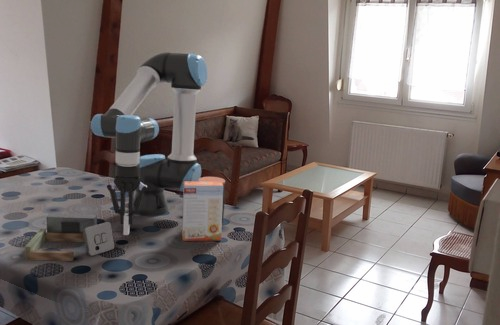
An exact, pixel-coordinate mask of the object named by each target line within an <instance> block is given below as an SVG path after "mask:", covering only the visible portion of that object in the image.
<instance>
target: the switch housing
mask: <svg viewBox="0 0 500 325" xmlns="http://www.w3.org/2000/svg"><path fill="white" fill-rule="evenodd" d="M97 217H98V214H86V213H85V214H84V213H81V214H80V213H63V212H62V213H59V212H58V213H57V212H50V213H49V214H48V215H46V232H48V233H77V234H79V233H81V234H83V230H84V229H86V228H87V227H90V226H94V225H98V218H97Z"/></svg>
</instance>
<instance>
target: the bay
mask: <svg viewBox="0 0 500 325" xmlns="http://www.w3.org/2000/svg"><path fill="white" fill-rule="evenodd" d="M45 242H63V243H64V242H66V243H67V242H68V243H85V241H84V236H83V234H81V233H79V234H77V233H48V232H47V228H41V229H40V230H39V231H38V232H37V233H35V235H34V236H33V237H31V239H30V240H29V241H28V243H27V244H26V245H25V246H24V256H25V260H27V261H28V260H29V261H31V260H32V261H66V262H72V261H74V258H75V252H74V251H71V250H70V251H68V250H39V249H40V248H42V246H43V245H44V243H45Z"/></svg>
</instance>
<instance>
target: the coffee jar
mask: <svg viewBox="0 0 500 325" xmlns="http://www.w3.org/2000/svg"><path fill="white" fill-rule="evenodd" d="M198 182H222V184H223V209H222V225H223V224H224V216H225V214H224V213H225V199H226V198H225V196H226V195H225V194H226V187H225V185H226V180H225V179H224V178H222V177H219V176H203V177H200V178H199V179H198Z"/></svg>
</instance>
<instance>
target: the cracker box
mask: <svg viewBox="0 0 500 325" xmlns="http://www.w3.org/2000/svg"><path fill="white" fill-rule="evenodd" d="M182 192H183V193H182V222H181V223H182V232H181V233H182V234H181V235H182V241H183V242H190V241H191V242H193V241H194V242H196V241H197V242H198V241H199V242H200V241H201V242H202V241H204V242H205V241H209V242H211V241H218V242H219V241H222V230H223V229H222V228H223V227H222V226H223V224H222V209H223V184H222V182H190V181H184V184H183V191H182Z"/></svg>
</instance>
